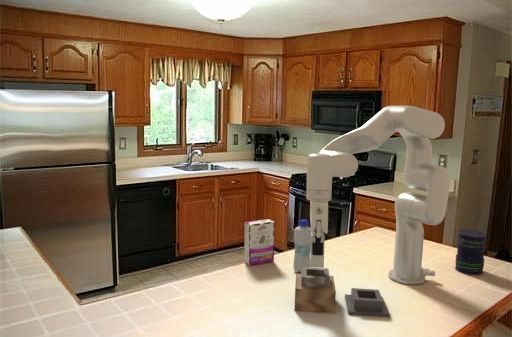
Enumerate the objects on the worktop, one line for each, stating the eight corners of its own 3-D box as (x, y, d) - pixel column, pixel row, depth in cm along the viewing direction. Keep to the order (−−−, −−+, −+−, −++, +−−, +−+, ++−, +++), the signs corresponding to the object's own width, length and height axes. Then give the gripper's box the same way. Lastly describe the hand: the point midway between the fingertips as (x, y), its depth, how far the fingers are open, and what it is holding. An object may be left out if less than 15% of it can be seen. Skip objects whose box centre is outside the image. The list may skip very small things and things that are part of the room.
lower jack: (382, 299, 139) (383, 287, 139) (389, 317, 128) (390, 304, 127) (344, 297, 141) (345, 285, 140) (348, 314, 129) (349, 301, 128)
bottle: (310, 269, 165) (312, 217, 162) (311, 275, 158) (313, 222, 156) (292, 268, 166) (294, 217, 163) (292, 274, 159) (294, 221, 156)
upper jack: (332, 296, 141) (333, 266, 140) (334, 313, 129) (336, 281, 128) (295, 293, 142) (296, 264, 141) (294, 310, 131) (295, 278, 129)
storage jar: (455, 272, 164) (458, 234, 162) (454, 264, 173) (457, 228, 171) (484, 277, 161) (488, 238, 159) (481, 268, 170) (485, 231, 168)
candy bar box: (268, 257, 176) (269, 218, 174) (274, 261, 172) (275, 221, 170) (243, 261, 171) (244, 221, 169) (248, 266, 167) (249, 224, 165)
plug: (323, 263, 136) (324, 226, 134) (323, 267, 132) (324, 229, 131) (310, 262, 137) (311, 225, 135) (310, 267, 133) (311, 229, 131)
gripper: (333, 200, 123) (331, 262, 125) (329, 189, 139) (328, 244, 142) (306, 199, 123) (305, 261, 126) (306, 188, 140) (305, 243, 142)
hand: (317, 251), depth 134 cm, fingers closed on plug, 4 cm apart
